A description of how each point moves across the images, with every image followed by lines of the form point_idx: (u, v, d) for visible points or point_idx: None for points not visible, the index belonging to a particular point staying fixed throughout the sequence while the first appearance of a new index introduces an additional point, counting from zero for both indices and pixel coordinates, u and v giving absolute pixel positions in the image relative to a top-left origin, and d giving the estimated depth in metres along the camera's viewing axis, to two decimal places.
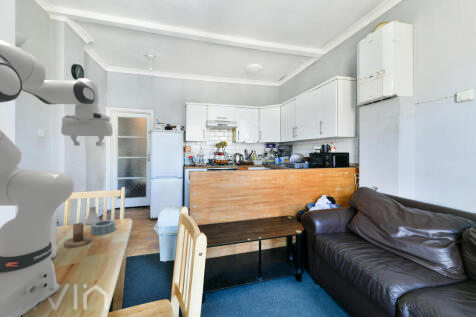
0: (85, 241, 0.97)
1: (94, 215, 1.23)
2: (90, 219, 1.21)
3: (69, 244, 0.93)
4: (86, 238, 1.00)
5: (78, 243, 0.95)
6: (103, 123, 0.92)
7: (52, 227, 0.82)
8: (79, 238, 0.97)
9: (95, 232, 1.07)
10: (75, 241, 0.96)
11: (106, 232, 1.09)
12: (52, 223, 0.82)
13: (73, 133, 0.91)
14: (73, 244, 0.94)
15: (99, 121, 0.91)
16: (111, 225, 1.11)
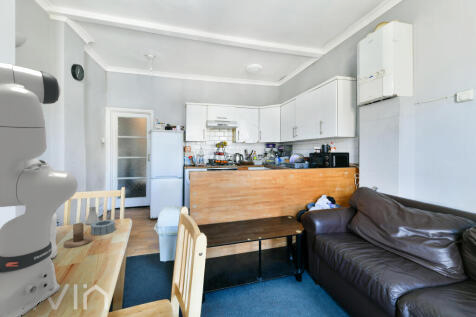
0: (85, 241, 0.97)
1: (94, 215, 1.23)
2: (90, 219, 1.21)
3: (69, 244, 0.93)
4: (86, 238, 1.00)
5: (78, 243, 0.95)
6: (49, 167, 1.01)
7: (52, 227, 0.82)
8: (79, 238, 0.97)
9: (95, 232, 1.07)
10: (75, 241, 0.96)
11: (106, 232, 1.09)
12: (52, 223, 0.82)
13: None
14: (73, 244, 0.94)
15: (45, 166, 0.99)
16: (111, 225, 1.11)
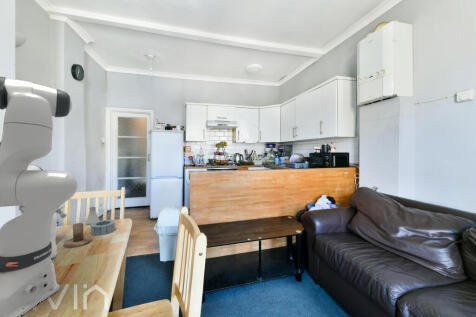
0: (85, 241, 0.97)
1: (94, 215, 1.23)
2: (90, 219, 1.21)
3: (69, 244, 0.93)
4: (86, 238, 1.00)
5: (78, 243, 0.95)
6: None
7: (52, 227, 0.82)
8: (79, 238, 0.97)
9: (95, 232, 1.07)
10: (75, 241, 0.96)
11: (106, 232, 1.09)
12: (52, 223, 0.82)
13: None
14: (73, 244, 0.94)
15: None
16: (111, 225, 1.11)
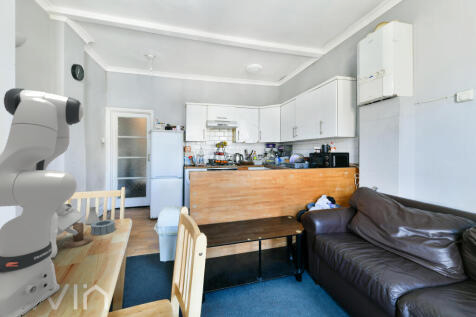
0: (85, 241, 0.97)
1: (94, 215, 1.23)
2: (90, 219, 1.21)
3: (69, 244, 0.93)
4: (86, 238, 1.00)
5: (78, 243, 0.95)
6: (74, 209, 1.04)
7: (53, 227, 0.82)
8: (80, 238, 0.97)
9: (95, 232, 1.07)
10: (75, 241, 0.96)
11: (106, 232, 1.09)
12: (53, 223, 0.82)
13: (68, 225, 0.93)
14: (73, 244, 0.94)
15: (71, 209, 1.02)
16: (111, 225, 1.11)
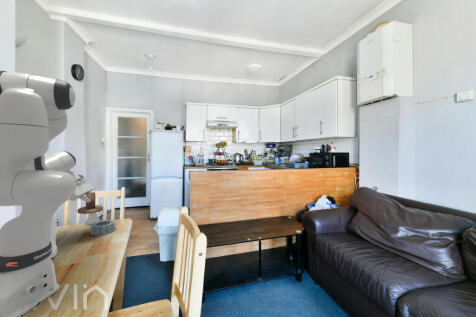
0: (97, 208, 1.04)
1: (94, 215, 1.23)
2: (90, 219, 1.21)
3: (83, 211, 1.00)
4: (97, 207, 1.07)
5: (91, 210, 1.02)
6: (86, 181, 1.10)
7: (52, 227, 0.82)
8: (92, 206, 1.04)
9: (95, 232, 1.07)
10: (88, 208, 1.03)
11: (106, 232, 1.09)
12: (52, 223, 0.82)
13: (82, 192, 0.99)
14: (86, 210, 1.01)
15: (84, 180, 1.09)
16: (111, 225, 1.11)
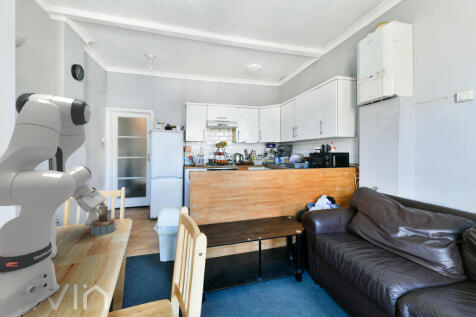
0: (109, 221, 1.11)
1: (94, 215, 1.23)
2: (90, 219, 1.21)
3: (96, 224, 1.07)
4: (109, 219, 1.15)
5: (104, 223, 1.09)
6: (98, 192, 1.18)
7: (52, 227, 0.82)
8: (104, 219, 1.11)
9: (95, 232, 1.07)
10: (101, 221, 1.10)
11: (106, 232, 1.09)
12: (52, 223, 0.82)
13: (95, 204, 1.07)
14: (100, 223, 1.08)
15: (96, 192, 1.16)
16: (111, 225, 1.11)
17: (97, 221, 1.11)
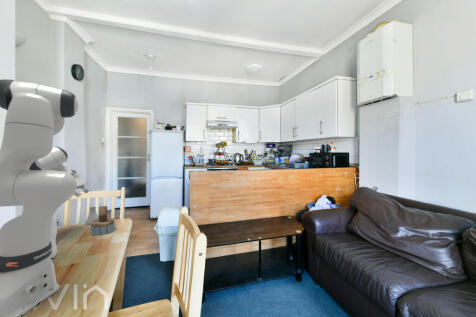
0: (109, 221, 1.11)
1: (94, 215, 1.23)
2: (90, 219, 1.21)
3: (96, 224, 1.07)
4: (109, 219, 1.15)
5: (104, 223, 1.09)
6: (78, 176, 1.15)
7: (52, 227, 0.82)
8: (104, 219, 1.11)
9: (95, 232, 1.07)
10: (101, 221, 1.10)
11: (106, 232, 1.09)
12: (52, 223, 0.82)
13: None
14: (100, 223, 1.08)
15: (76, 175, 1.13)
16: (111, 225, 1.11)
17: (97, 221, 1.11)
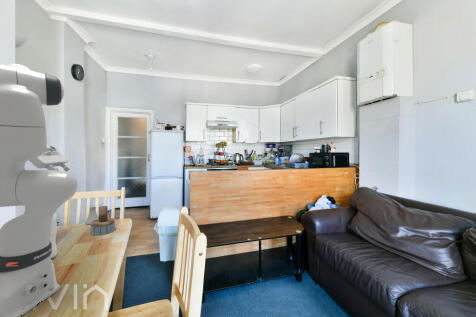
0: (109, 221, 1.11)
1: (94, 215, 1.23)
2: (90, 219, 1.21)
3: (96, 224, 1.07)
4: (109, 219, 1.15)
5: (104, 223, 1.09)
6: (58, 153, 1.07)
7: (52, 227, 0.82)
8: (104, 219, 1.11)
9: (95, 232, 1.07)
10: (101, 221, 1.10)
11: (106, 232, 1.09)
12: (52, 223, 0.82)
13: (50, 161, 0.95)
14: (100, 223, 1.08)
15: (56, 152, 1.05)
16: (111, 225, 1.11)
17: (97, 221, 1.11)
